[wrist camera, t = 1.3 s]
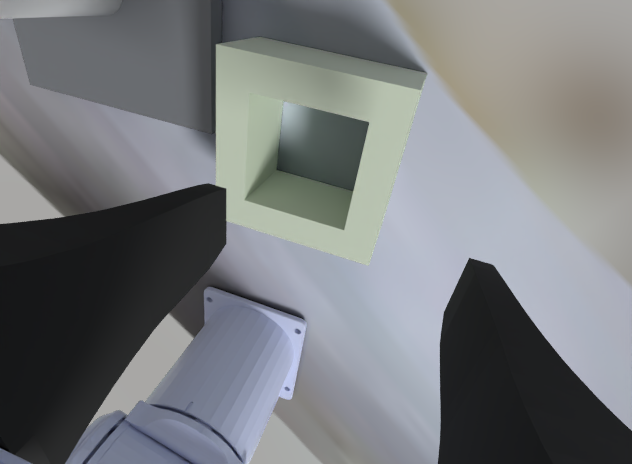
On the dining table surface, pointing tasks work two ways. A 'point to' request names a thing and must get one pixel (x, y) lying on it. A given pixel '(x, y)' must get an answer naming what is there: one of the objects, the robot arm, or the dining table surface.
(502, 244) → the dining table surface
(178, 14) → the post stand
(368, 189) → the collar
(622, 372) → the dining table surface
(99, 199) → the dining table surface
